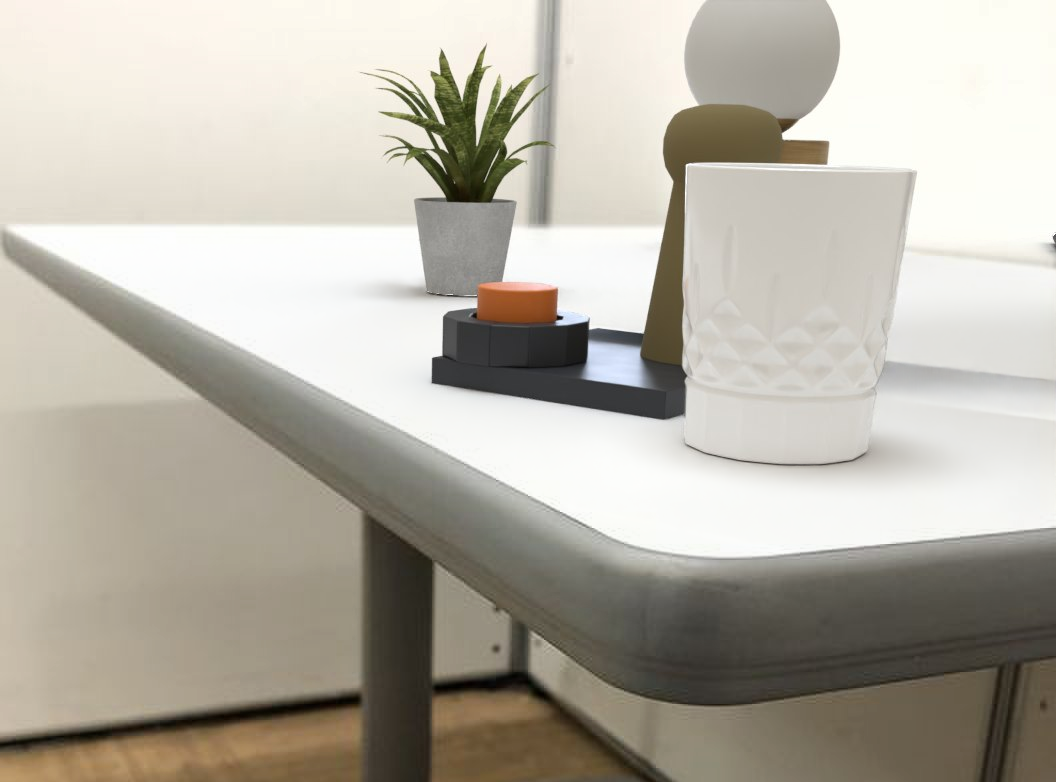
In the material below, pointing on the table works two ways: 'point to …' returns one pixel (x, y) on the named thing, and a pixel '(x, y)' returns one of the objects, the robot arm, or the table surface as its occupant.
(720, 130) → the cork
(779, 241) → the white cup
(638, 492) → the table surface
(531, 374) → the scale
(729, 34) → the lamp
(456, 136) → the house plant
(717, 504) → the table surface
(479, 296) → the button
